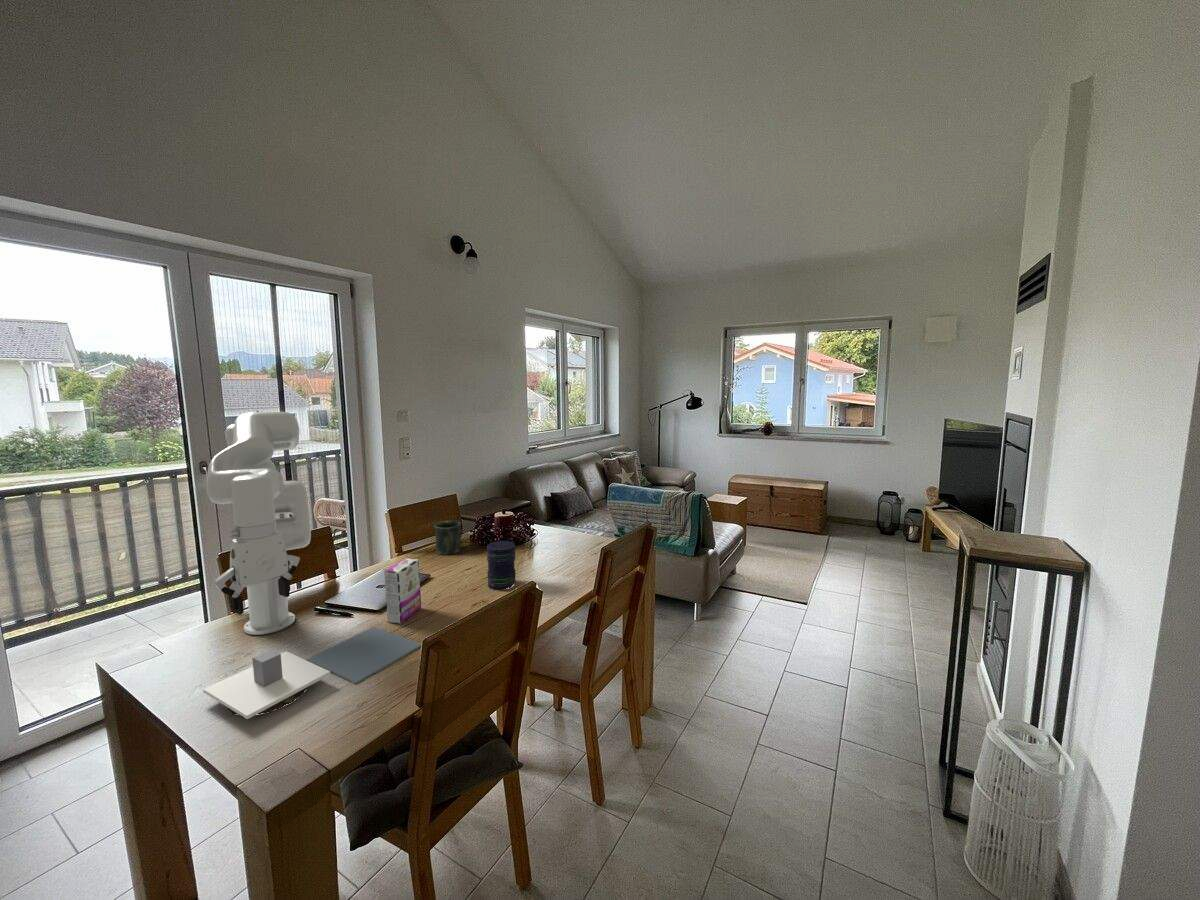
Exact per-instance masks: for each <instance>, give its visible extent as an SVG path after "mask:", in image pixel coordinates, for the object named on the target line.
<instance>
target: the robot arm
mask: <svg viewBox="0 0 1200 900" xmlns="http://www.w3.org/2000/svg"><path fill="white" fill-rule="evenodd" d="M224 433H225V434H224V437H225V441H226V444H227V447H226V448H224V449H223V450H221V451H220V452H219V453H217V454H216V455H215V456H213V457H212V458H211V460H210V462H209V464H208V467H207V473H206V485H205V487H206V494H207V497H208V499H209V500H210V502H212V503H214V504H217V505H226V504H227V505H229V504H232V514H233V515H232V517H233V526H232V527H233V529H232V530H230V531H227V537H228V538H234V539H232V542H231V547H230V553H229V569H227V570H226V571H224V572H223V573H222V574H221V575H220V576H218V577H217V578H216V579H214V580H213V581H212V584H213V585H214V587H215V588H217V590H218V591H219V592H221V593H223V594H226V595H228V597H229V605H230V606H229V607H230V610H231V611H232V612H234V613H235V614H238V615H242V614H243V613H244V612H245V611H244V602H243V596H242V595H240V594H241V593H242V592H243V590H244V589H245V588H246V592H247V601H248V602H247V603H248V609H247V613H248V615H249V620H248V621H246V623H245V624H244V625H243V631H244V633H246V634H248V635H253V636H258V635H259V636H260V635H266V634H267V635H268V634H273V633H275V632H279V631H282V630H284V629H286V628H288V627H290V626H291V625H293V623H294V622H295V620H296V615H295V614H294V613H292V611H291V612H290V611H289V601H288V597H290V592H291V582H290V580H291V579H292V578H293V575H294V573H295V572H296V571H297V566H298V565H299V563H300V560H301V558H300V556H296V555H291V554H288V553H287V551H291V550H296V549H297V550H298V549H303V548H306V547H307V546H308V545H309V544H310V542H311V537H312V533H311V520H310V519H311V518H310V509H309V498H308V493H307V492H308V491H307V489H306V486H305V484H304V483H303V482H302V481H299V480H285V481H284V478H283V476H282V474H281V472H279V470H277V468H276V465H275V463H274V462H273V461H272V460H271V459H272V457H273V455H274V452H275V451H290V450H294V449H296V448H297V447H298V444H299V441H300V427H299V423H298V420H297V418H296V416H295V415H294V414H293V413H290V412H288V411H260V412H259V411H258V412H257V411H255V412H254V411H253V412H246V413H242V414H240V415H239V416H238V417H236V419H235V420H234V422H233V424H230V425H228V426H227V427H226V428H225V431H224ZM281 514H282V515H283V514H290V515H291V517H282V518H281V517H279V518H276V515H281ZM228 580H230V581H231V585H230V586H229V587H228V586H227V585H226V582H227V581H228Z"/></svg>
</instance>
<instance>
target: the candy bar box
mask: <svg viewBox="0 0 1200 900" xmlns="http://www.w3.org/2000/svg"><path fill="white" fill-rule="evenodd" d="M420 578H421V577H420V561H419V559H415V558H408V557H407V558H404V559H402V560H401V561H399V562H398V563H395V564H394V565H393V566H391V567H389V568H388V569H386V570H384V585H385V586H384V587H385V598H386V599H385V600H386V613H387V623H389V624H390V623H391V624H400V625H402V624H403V623H404V622H405V621H407V620H408V619H409V618H410V617H412V616H413V615H414V614H415V613H417V612H418V611H419V610H420V609H421V608H422V596H421V582H420V581H421V580H420Z"/></svg>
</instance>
